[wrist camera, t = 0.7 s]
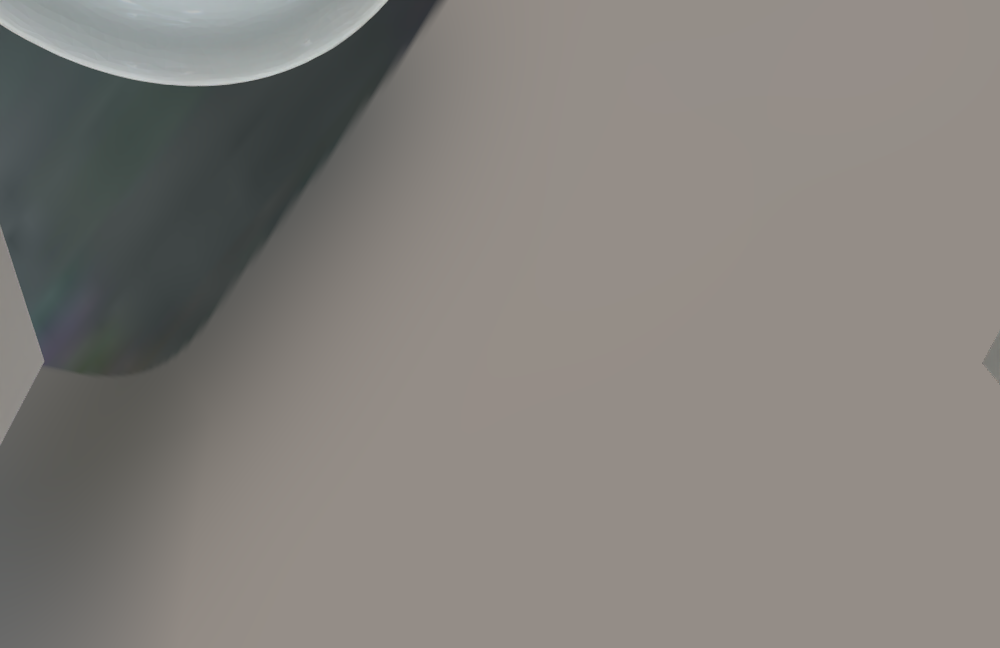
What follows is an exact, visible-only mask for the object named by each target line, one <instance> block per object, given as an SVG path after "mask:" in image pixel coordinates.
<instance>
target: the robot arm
mask: <svg viewBox="0 0 1000 648" xmlns="http://www.w3.org/2000/svg"><path fill="white" fill-rule="evenodd" d="M43 363H44V359H43V356H42V353H41V350H40V347H39V344H38V340H37V337H36V334H35V331H34V328H33V325H32V322H31V319H30V316H29V313H28V310H27V307H26V303H25V300H24V297H23V294H22V291H21V288H20V285H19V282H18V279H17V276H16V273H15V270H14V266H13V263H12V260H11V257H10V254H9V251H8V248H7V245H6V242H5V239H4V236H3V233H2V229H1V226H0V445H1V443H2V441H3V439H4V437H5V435H6V433H7V431H8V429H9V427H10V425H11V424H12V422H13V420H14V418H15V416H16V414H17V412H18V410H19V408H20V406H21V405H22V402H23V401H24V399H25V397H26V395H27V393H28V391H29V389H30V387H31V385H32V384H33V382H34V380H35V378H36V376H37V374H38V372H39V370H40V368H41V366H42V365H43ZM983 365H984V366H985V367H986V368H987V370H988V371H989V372H990V373H991V374H992V376H993V377H994V378H995V379H996V380H997V382H998V383H999V384H1000V331H999V334H998V335H997V337H996V339H995V340H994V342H993V344H992V346H991V348H990V350H989V352H988V353H987V355H986V357H985V359H984V361H983Z"/></svg>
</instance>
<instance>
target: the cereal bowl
mask: <svg viewBox="0 0 1000 648" xmlns="http://www.w3.org/2000/svg"><path fill="white" fill-rule="evenodd" d="M387 1H388V0H0V24H1V25H2V26H4V27H5V28H7V29H9V30H10V31H12V32H13V33H15V34H17V35H19V36H21V37H22V38H24V39H26V40H28V41H30V42H32V43H34V44H36V45H38V46H40V47H42V48H44V49H46V50H48V51H50V52H52V53H54V54H57V55H59V56H61V57H64V58H66V59H68V60H71V61H73V62H76V63H78V64H81V65H84V66H87V67H90V68H93V69H96V70H99V71H102V72H106V73H109V74H112V75H116V76H121V77H125V78H129V79H134V80H139V81H145V82H151V83H158V84H166V85H181V86H213V85H228V84H234V83H241V82H247V81H252V80H257V79H261V78H265V77H268V76H272V75H275V74H278V73H281V72H284V71H287V70H290V69H292V68H294V67H297V66H299V65H302V64H304V63H306V62H308V61H310V60H312V59H314V58H316V57H318V56H320V55H322V54H323V53H325V52H327V51H329V50H331V49H332V48H334V47H335V46H337V45H338V44H340V43H341V42H343V41H344V40H345V39H347V38H348V37H349V36H351V35H352V34H353V33H354V32H356V31H357V30H358V29H359V28H361V27H362V26H363V25H364V24H365V23H366V22H367V21H368V20H369V19H370V18H372V17H373V16H374V15H375V14H376V13H377V12H378V11H379V10H380V9H381V8H382V7H383V5H384V4H385V3H386V2H387Z"/></svg>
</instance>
